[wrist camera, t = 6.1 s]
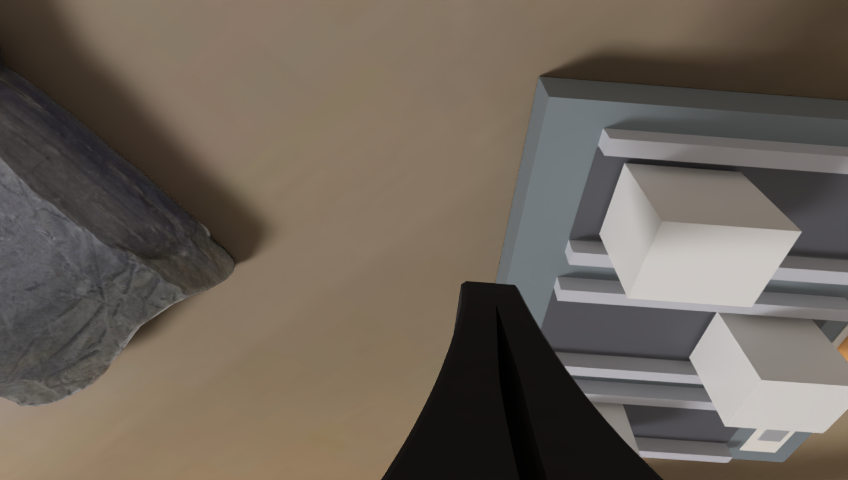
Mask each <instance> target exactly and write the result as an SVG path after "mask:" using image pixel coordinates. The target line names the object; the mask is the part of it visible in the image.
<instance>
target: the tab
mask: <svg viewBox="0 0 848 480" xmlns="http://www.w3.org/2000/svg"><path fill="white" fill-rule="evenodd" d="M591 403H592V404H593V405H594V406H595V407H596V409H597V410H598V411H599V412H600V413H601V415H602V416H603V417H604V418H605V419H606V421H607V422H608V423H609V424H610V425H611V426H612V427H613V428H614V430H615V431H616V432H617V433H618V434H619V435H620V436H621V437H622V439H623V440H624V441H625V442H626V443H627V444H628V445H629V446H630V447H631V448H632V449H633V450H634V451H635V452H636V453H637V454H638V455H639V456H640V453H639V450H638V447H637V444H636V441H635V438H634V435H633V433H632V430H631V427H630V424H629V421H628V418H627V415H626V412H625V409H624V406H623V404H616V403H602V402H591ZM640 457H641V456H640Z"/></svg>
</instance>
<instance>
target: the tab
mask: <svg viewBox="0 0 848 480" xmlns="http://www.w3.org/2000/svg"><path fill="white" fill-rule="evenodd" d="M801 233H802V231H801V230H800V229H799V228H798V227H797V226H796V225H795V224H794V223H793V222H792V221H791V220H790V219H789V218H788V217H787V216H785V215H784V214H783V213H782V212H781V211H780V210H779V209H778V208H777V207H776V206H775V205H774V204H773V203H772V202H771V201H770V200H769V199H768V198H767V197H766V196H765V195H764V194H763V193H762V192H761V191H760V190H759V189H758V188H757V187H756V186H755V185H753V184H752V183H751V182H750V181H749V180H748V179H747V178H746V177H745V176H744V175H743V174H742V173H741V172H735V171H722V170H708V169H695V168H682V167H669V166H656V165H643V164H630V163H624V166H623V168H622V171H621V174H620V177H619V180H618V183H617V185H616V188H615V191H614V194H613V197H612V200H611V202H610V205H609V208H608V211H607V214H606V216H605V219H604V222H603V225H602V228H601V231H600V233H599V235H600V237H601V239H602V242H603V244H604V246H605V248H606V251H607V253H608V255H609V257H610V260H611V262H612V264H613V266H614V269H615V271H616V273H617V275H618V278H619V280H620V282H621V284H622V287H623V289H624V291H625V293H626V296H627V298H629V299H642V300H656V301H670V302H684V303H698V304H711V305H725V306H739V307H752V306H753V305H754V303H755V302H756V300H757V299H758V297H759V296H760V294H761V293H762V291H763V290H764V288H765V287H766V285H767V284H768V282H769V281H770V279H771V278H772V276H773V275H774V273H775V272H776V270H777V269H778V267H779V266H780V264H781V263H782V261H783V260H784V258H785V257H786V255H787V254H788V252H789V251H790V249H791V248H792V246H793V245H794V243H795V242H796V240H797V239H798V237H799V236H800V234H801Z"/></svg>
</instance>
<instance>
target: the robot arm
mask: <svg viewBox="0 0 848 480" xmlns="http://www.w3.org/2000/svg"><path fill="white" fill-rule="evenodd" d="M381 480H663V479H662V478H661V477H660V476H659V475H658V474H657V473H656V472H655V471H654V470H653V469H652V468H651V467H650V466H649V465H648V464H647V463H646V462H645V461H644V460H643V459H642V458H641V457H640V456H639V455H638V454H637V453H636V452H635V451H634V450H633V449H632V448H631V447H630V446H629V445H628V444H627V443H626V442H625V441H624V440H623V439H622V437H621V436H620V435H619V434H618V433H617V432H616V431H615V430H614V428H613V427H612V426H611V425H610V424H609V423H608V422H607V421H606V419H605V418H604V417H603V416H602V415H601V413H600V412H599V411H598V410H597V409H596V407H595V406H594V405H593V404H592V403H591V401H590V400H589V399H588V398H587V396H586V395H585V394H584V392H583V391H582V390H581V388H580V387H579V386H578V385H577V383H576V382H575V380H574V379H573V378H572V376H571V375H570V373H569V372H568V371H567V369H566V368H565V366H564V365H563V364H562V362H561V361H560V359H559V358H558V356H557V355H556V353H555V351H554V350H553V348H552V347H551V345H550V344H549V342H548V341H547V339H546V337H545V336H544V334H543V333H542V331H541V329H540V328H539V326H538V324H537V322H536V321H535V319H534V317H533V316H532V314H531V312H530V310H529V308H528V306H527V305H526V303H525V301H524V299H523V297H522V295H521V293H520V291H519V289H518V288H517V287H516V285H511V284H497V283H484V282H470V281H466V282H464V283H463V284H461V290H460V296H459V303H458V309H457V316H456V322H455V329H454V335H453V338H452V341H451V344H450V347H449V350H448V353H447V355H446V358H445V360H444V363H443V366H442V368H441V371H440V373H439V376H438V378H437V380H436V383H435V385H434V387H433V389H432V391H431V393H430V396H429V398H428V400H427V402H426V404H425V406H424V408H423V410H422V412H421V413H420V415H419V417H418V419H417V421H416V423H415V425H414V427H413V429H412V430H411V432H410V434H409V436H408V437H407V439H406V441H405V443H404V444H403V446H402V447H401V449H400V451H399V452H398V454H397V456H396V457H395V459H394V460H393V462H392V464H391V465H390V467H389V468H388V470H387V472H386V473H385V475H384V476H383V478H382V479H381Z"/></svg>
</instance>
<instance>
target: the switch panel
mask: <svg viewBox="0 0 848 480" xmlns="http://www.w3.org/2000/svg"><path fill="white" fill-rule="evenodd" d="M624 163H630V164H643V165H656V166H669V167H682V168H695V169H708V170H722V171H735V172H741V173H742V174H743V175H744V176H745V177H746V178H747V179H748V180H749V181H750V182H751V183H752V184H753V185H755V186H756V187H757V188H758V189H759V190H760V191H761V192H762V193H763V194H764V195H765V196H766V197H767V198H768V199H769V200H770V201H771V202H772V203H773V204H774V205H775V206H776V207H777V208H778V209H779V210H780V211H781V212H782V213H783V214H784V215H785V216H787V217H788V218H789V219H790V220H791V221H792V222H793V223H794V224H795V225H796V226H797V227H798V228H799V229H800V230H801V231H802V233H801V234H800V236H799V237H798V239H797V240H796V242H795V243H794V245H793V246H792V248H791V249H790V251H789V252H788V254H787V255H786V257H785V258H784V260H783V261H782V263H781V264H780V266H779V267H778V269H777V270H776V272H775V273H774V275H773V276H772V278H771V279H770V281H769V282H768V284H767V285H766V287H765V288H764V290H763V291H762V293H761V294H760V296H759V297H758V299H757V300H756V302H755V303H754V305H753V306H752V307H739V306H725V305H711V304H698V303H684V302H670V301H656V300H642V299H629V298H627V296H626V293H625V291H624V289H623V287H622V284H621V282H620V280H619V278H618V275H617V273H616V271H615V269H614V266H613V264H612V262H611V260H610V257H609V255H608V253H607V251H606V248H605V246H604V244H603V242H602V239H601V237H600V235H599V233H600V231H601V228H602V225H603V222H604V219H605V216H606V214H607V211H608V208H609V205H610V202H611V200H612V197H613V194H614V191H615V188H616V185H617V183H618V180H619V177H620V174H621V171H622V168H623V166H624ZM496 283H497V284H511V285H516V287H517V288H518V289H519V291H520V293H521V295H522V297H523V299H524V301H525V303H526V305H527V306H528V308H529V310H530V312H531V314H532V316H533V317H534V319H535V321H536V322H537V324H538V326H539V328H540V329H541V331H542V333H543V334H544V336H545V337H546V339H547V341H548V342H549V344H550V345H551V347H552V348H553V350H554V351H555V353H556V355H557V356H558V358H559V359H560V361H561V362H562V364H563V365H564V366H565V368H566V369H567V371H568V372H569V373H570V375H571V376H572V378H573V379H574V380H575V382H576V383H577V385H578V386H579V387H580V388H581V390H582V391H583V392H584V394H585V395H586V396H587V398H588V399H589V400H590V401H591V402H602V403H616V404H623V406H624V409H625V412H626V415H627V418H628V421H629V424H630V427H631V430H632V433H633V435H634V438H635V441H636V444H637V447H638V450H639V453H640V456H641V457H647V458H662V459H677V460H691V461H706V462H720V463H728V462H729V461H730V460H731V459H742V460H757V461H771V462H784V461H785V460H786V459H787V458H788V457H789V456H790V455H791V454H792V453H793V452H794V451H795V450H796V449H797V448H798V447H799V446H800V445H801V444H802V443H803V442H804V441H805V440H806V439H807V438H808V437H809V436H810V435H811V434H812V433H811V432H797V431H782V430H768V429H754V428H739V427H725V426H724V424H723V422H722V420H721V418H720V416H719V414H718V412H717V410H716V408H715V406H714V404H713V402H712V401H711V399H710V397H709V395H708V393H707V391H706V389H705V387H704V385H703V383H702V381H701V379H700V377H699V375H698V374H697V372H696V370H695V368H694V366H693V364H692V362H691V360H690V358H689V357H690V355H691V354H692V352H693V350H694V349H695V347H696V345H697V344H698V342H699V341H700V339H701V337H702V336H703V334H704V332H705V331H706V329H707V327H708V326H709V324H710V323H711V321H712V319H713V318H714V316H715V314H716V313H717V312H721V313H735V314H749V315H762V316H776V317H790V318H804V319H812V320H813V321H814V323H815V324H816V325H817V326H818V327H819V329H820V330H821V331H822V332H823V333H824V334H825V336H826V337H827V338H828V339H829V340H830V342H831V343H832V344H833V345H834V346H835V347H836V349H837V350H838V351H839V352H840V353H841V355H842V356H843V357H844V358H845V359H846V360H847V362H848V101H845V100H833V99H820V98H807V97H794V96H782V95H769V94H756V93H743V92H730V91H718V90H705V89H692V88H679V87H667V86H654V85H641V84H628V83H615V82H603V81H590V80H577V79H564V78H552V77H539V78H538V83H537V88H536V93H535V98H534V102H533V107H532V112H531V117H530V121H529V126H528V131H527V136H526V140H525V145H524V150H523V155H522V160H521V164H520V169H519V174H518V179H517V183H516V188H515V193H514V198H513V203H512V207H511V212H510V217H509V222H508V226H507V231H506V236H505V241H504V245H503V250H502V255H501V260H500V265H499V269H498V274H497V279H496Z"/></svg>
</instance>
